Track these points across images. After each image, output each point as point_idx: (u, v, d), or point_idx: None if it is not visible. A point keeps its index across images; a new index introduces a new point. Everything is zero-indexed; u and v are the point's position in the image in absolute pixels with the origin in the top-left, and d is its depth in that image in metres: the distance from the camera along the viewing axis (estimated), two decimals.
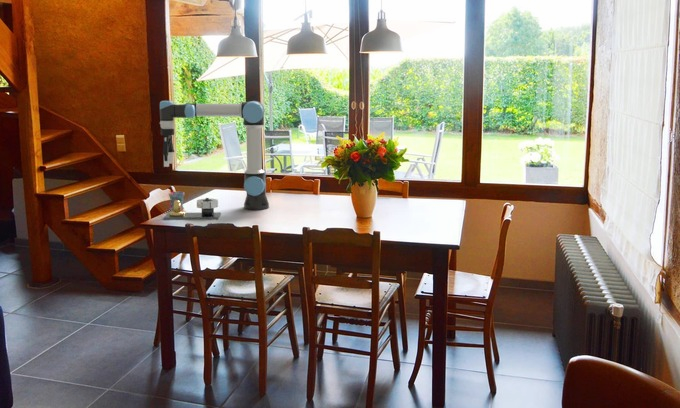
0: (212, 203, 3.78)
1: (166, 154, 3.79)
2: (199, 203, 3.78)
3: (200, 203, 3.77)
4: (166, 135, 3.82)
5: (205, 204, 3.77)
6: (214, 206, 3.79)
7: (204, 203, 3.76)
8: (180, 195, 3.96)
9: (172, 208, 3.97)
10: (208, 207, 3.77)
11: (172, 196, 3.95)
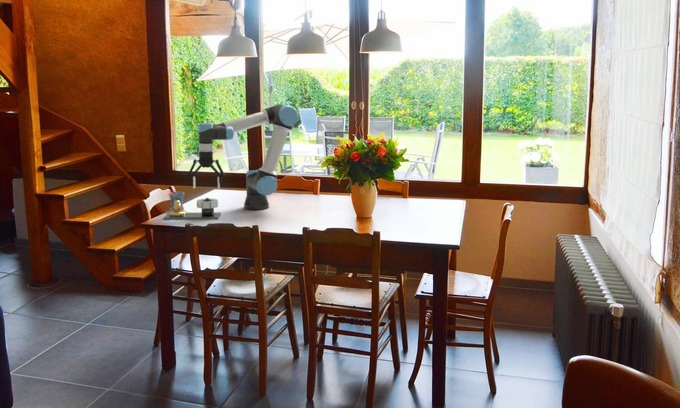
0: (212, 203, 3.78)
1: (188, 175, 3.78)
2: (199, 203, 3.78)
3: (200, 203, 3.77)
4: (199, 157, 3.77)
5: (205, 204, 3.77)
6: (214, 206, 3.79)
7: (204, 203, 3.76)
8: (180, 195, 3.96)
9: (172, 208, 3.97)
10: (208, 207, 3.77)
11: (172, 196, 3.95)
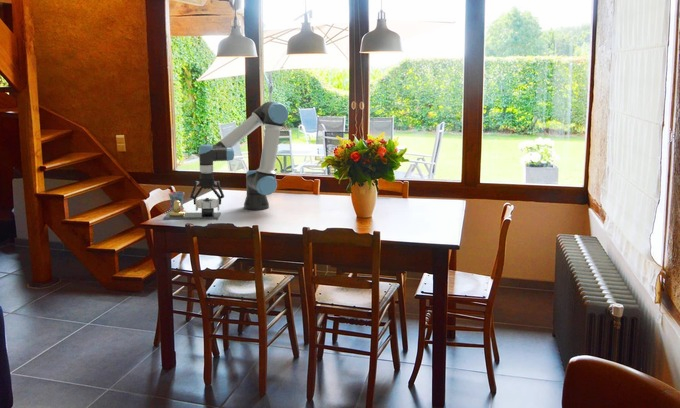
0: (212, 203, 3.78)
1: (191, 197, 3.80)
2: (199, 203, 3.78)
3: (200, 203, 3.77)
4: None
5: (205, 204, 3.77)
6: (214, 206, 3.79)
7: (204, 203, 3.76)
8: (180, 195, 3.96)
9: (172, 208, 3.97)
10: (208, 207, 3.77)
11: (172, 196, 3.95)
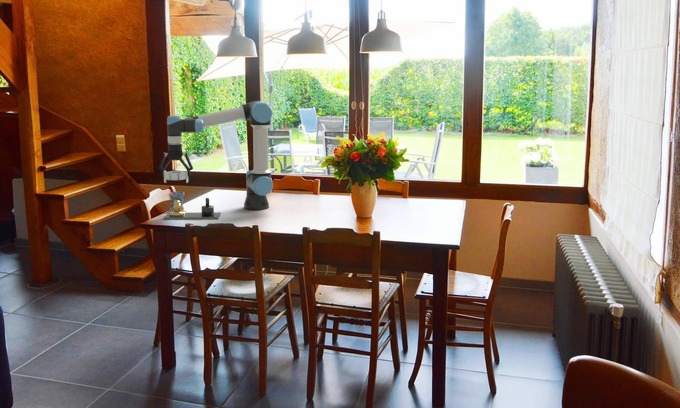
0: (180, 175, 3.74)
1: (159, 169, 3.76)
2: (167, 175, 3.74)
3: (168, 175, 3.73)
4: (168, 150, 3.75)
5: (173, 175, 3.72)
6: (182, 178, 3.75)
7: (172, 175, 3.72)
8: (180, 195, 3.96)
9: (172, 208, 3.97)
10: (176, 179, 3.73)
11: (172, 196, 3.95)
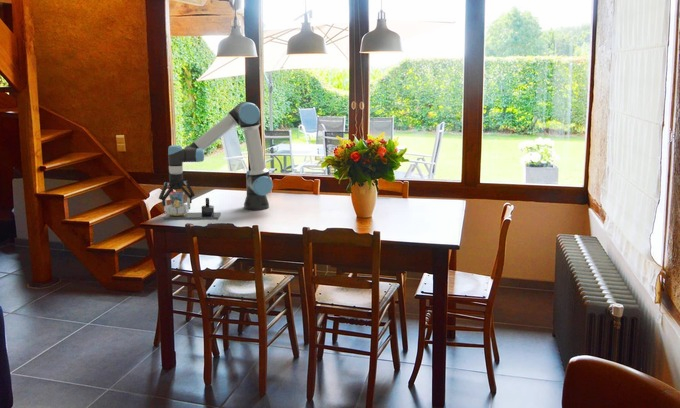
0: (186, 208, 3.80)
1: None
2: (173, 209, 3.76)
3: (174, 209, 3.76)
4: (169, 180, 3.77)
5: (180, 209, 3.77)
6: (187, 210, 3.81)
7: (179, 208, 3.76)
8: (180, 195, 3.96)
9: None
10: (183, 212, 3.78)
11: (172, 196, 3.95)
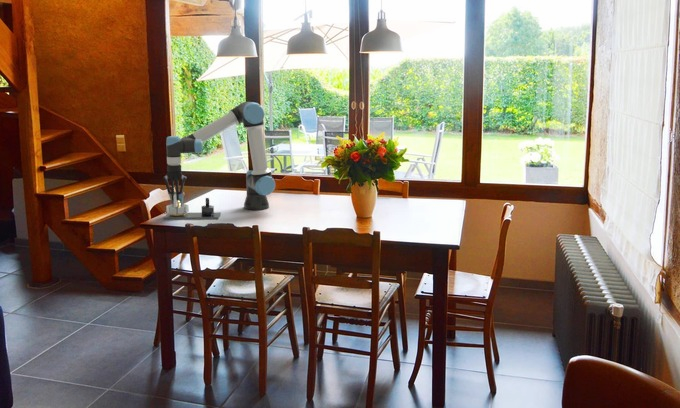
0: (186, 208, 3.80)
1: (169, 193, 3.75)
2: (173, 209, 3.76)
3: (174, 209, 3.76)
4: None
5: (180, 209, 3.77)
6: (187, 210, 3.81)
7: (179, 208, 3.76)
8: (180, 195, 3.96)
9: None
10: (183, 212, 3.78)
11: None
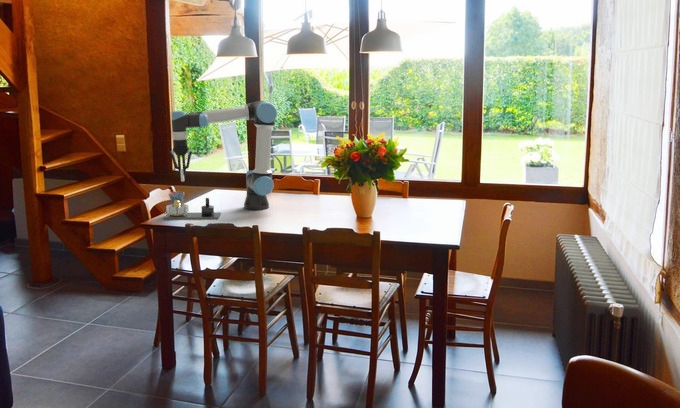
0: (186, 208, 3.80)
1: (175, 168, 3.77)
2: (173, 209, 3.76)
3: (174, 209, 3.76)
4: None
5: (180, 209, 3.77)
6: (187, 210, 3.81)
7: (179, 208, 3.76)
8: (180, 195, 3.96)
9: None
10: (183, 212, 3.78)
11: (172, 196, 3.95)
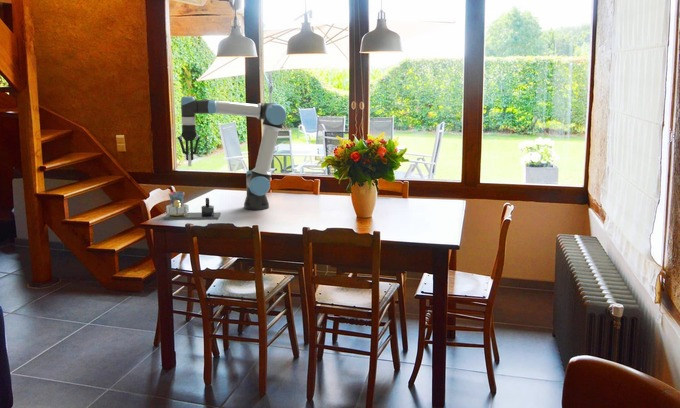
0: (186, 208, 3.80)
1: (183, 153, 3.81)
2: (173, 209, 3.76)
3: (174, 209, 3.76)
4: None
5: (180, 209, 3.77)
6: (187, 210, 3.81)
7: (179, 208, 3.76)
8: (180, 195, 3.96)
9: None
10: (183, 212, 3.78)
11: (172, 196, 3.95)
